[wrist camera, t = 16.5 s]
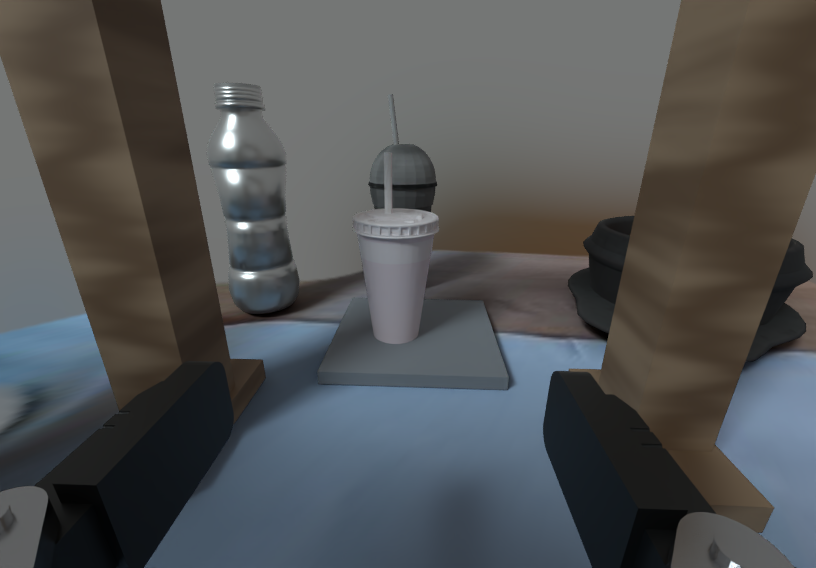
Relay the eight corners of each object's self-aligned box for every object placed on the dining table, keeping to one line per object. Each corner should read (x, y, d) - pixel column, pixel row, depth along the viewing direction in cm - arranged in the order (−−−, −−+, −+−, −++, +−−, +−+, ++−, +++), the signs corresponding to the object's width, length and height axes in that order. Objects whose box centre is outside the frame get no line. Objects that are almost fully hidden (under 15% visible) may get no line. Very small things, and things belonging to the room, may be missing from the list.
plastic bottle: (217, 316, 36) (171, 82, 29) (264, 291, 42) (236, 92, 35) (273, 327, 34) (238, 77, 27) (314, 299, 40) (295, 89, 33)
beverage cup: (439, 297, 41) (446, 90, 34) (371, 298, 40) (363, 89, 33) (430, 274, 48) (434, 98, 40) (372, 276, 47) (366, 98, 40)
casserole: (598, 265, 52) (609, 203, 49) (783, 298, 41) (813, 221, 38) (524, 332, 33) (536, 240, 30) (823, 426, 22) (887, 297, 19)
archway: (45, 498, 18) (-502, -669, 7) (177, 375, 27) (27, -209, 16) (798, 534, 16) (1565, -899, 5) (663, 390, 26) (848, -245, 15)
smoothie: (371, 312, 35) (367, 150, 30) (440, 320, 33) (448, 152, 28) (344, 347, 29) (333, 153, 24) (427, 358, 27) (433, 155, 22)
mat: (318, 383, 26) (317, 371, 26) (353, 306, 38) (352, 297, 38) (507, 389, 26) (508, 377, 25) (481, 309, 38) (482, 300, 37)
